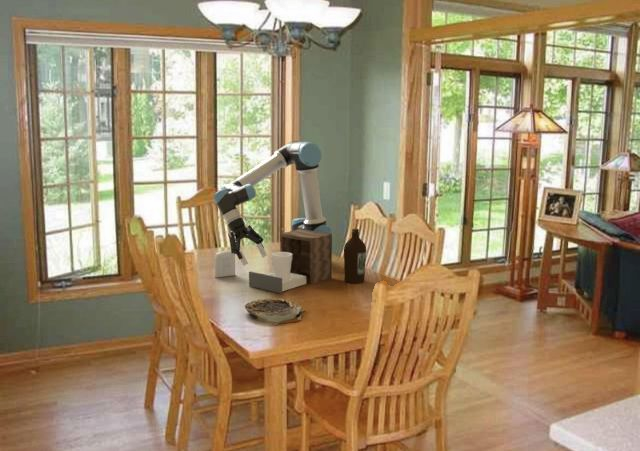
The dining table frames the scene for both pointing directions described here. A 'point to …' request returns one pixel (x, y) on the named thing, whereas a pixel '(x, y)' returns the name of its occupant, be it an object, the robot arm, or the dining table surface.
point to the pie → (273, 310)
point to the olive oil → (354, 259)
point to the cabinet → (309, 253)
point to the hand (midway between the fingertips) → (255, 260)
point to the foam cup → (282, 265)
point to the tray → (275, 281)
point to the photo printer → (224, 264)
